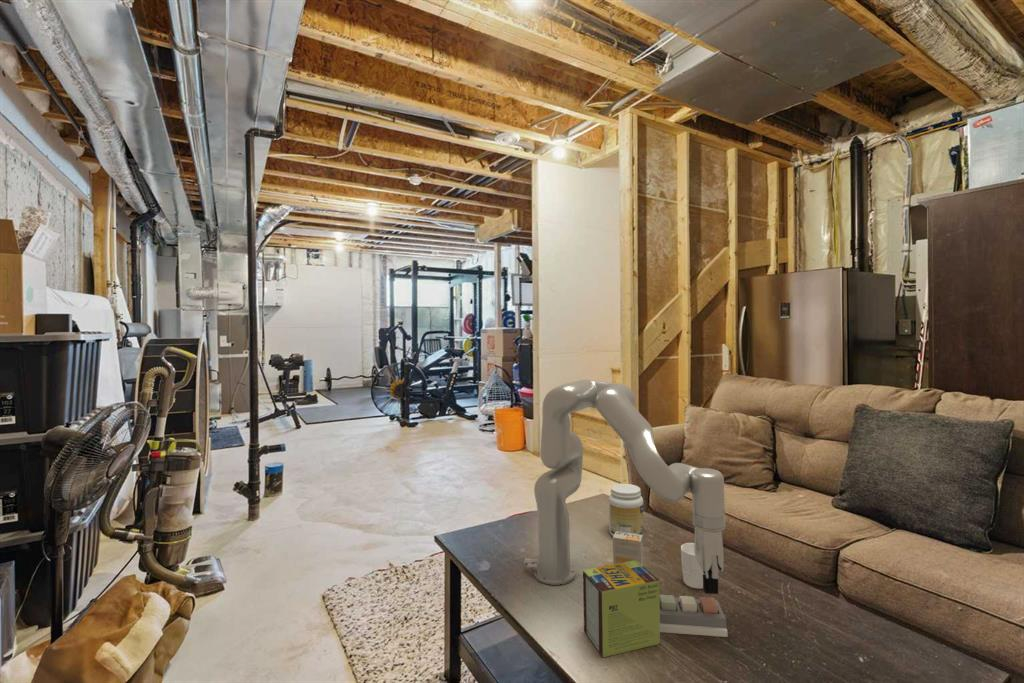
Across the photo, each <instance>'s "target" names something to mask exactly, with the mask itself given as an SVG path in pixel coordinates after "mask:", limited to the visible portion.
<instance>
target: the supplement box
mask: <svg viewBox="0 0 1024 683" xmlns="http://www.w3.org/2000/svg"><path fill="white" fill-rule="evenodd" d="M612 553H613V554H612V556H613V558H612V559H613V563H612V564H618V563H624V562H629V561H633V560H637V561H638V562H639V563H640V564H641V565H643V566H644V534H643V535H639V534H632V533H626V532H619V531H616V532H615V534H614V536H612ZM644 567H645V566H644Z"/></svg>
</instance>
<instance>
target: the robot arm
mask: <svg viewBox="0 0 1024 683" xmlns="http://www.w3.org/2000/svg"><path fill="white" fill-rule="evenodd" d="M635 404H636V396H635V393H634V391H633V390H632V389H631V387H629V386H627V385H625V384H622V383H615V382H607V381H600V380H591V379H581V380H577V381H572V382H568V383H564V384H561V385H558V386H556V387H554V388H552V389H551V390H549V391H548V392H547V394H546V395H545V396H544V399H543V402H542V420H541V421H542V422H541V435H540V437H541V438H540V460H541V462H542V465H544V466H545V467H546V468H548V469H550V470H547V471H546V472H543V474H541V475H540V476H539V477H538V478H537V480H536V481H535V484H534V488H533V492H534V497H535V498H534V499H535V502H536V510H537V528H538V529H537V533H538V534H537V535H538V536H537V537H538V541H537V542H538V554H537V555H538V556H537V557H534V558H531V557H528V558H527V557H526V558H524V566H527V569H534V570H533V575H534V578H535V577H536V578H537V579H538V580H537V579H536V578H535V579H536V580H537V581H539V582H540V583H542V582H543V584H545V583H546V585H549V584H550V586H553V585H554V586H561V585H560V584H562V585H566V584H569V583H571V582H572V581H573V580H575V578H576V570H575V567H574V566H572V565H571V546H570V545H571V543H570V540H571V538H570V536H571V535H570V514H569V513H570V512H569V510H568V507H567V502H566V500H567V499H568V498H569V497H570V496H572V495H573V494H575V493H576V492H577V491H578V490H579V488H580V486H581V484H582V476H583V459H584V447H583V442H582V439H581V438H580V437H579V435H578V434H576V433H575V432H573V431H572V430H571V419H570V416H569V415H570V414H572V413H575V412H578V411H582V410H585V409H588V408H591V409H592V408H593V409H596V410H597V411H598V413H599V414H600V416H602V418H603V419H604V420H605V421H606V423H607V424H608V425H609V426H610V427H611V429H613V430H612V431H614V432H615V433H616V435H617V436H618V437H619V438H620V440H622V442H623V443H624V444H625V446H626V447H627V449H628V452H629V455H630V458H631V460H632V463H633V464H634V467H635V468H636V471H637V472H638V475H640V477H641V478H642V479H643V481H644V482H645V483H646V485H647V486H648V487H649V488H650V489H651V491H653V493H654V494H655V495H656V496H657V497H658V498H660V500H663V501H665V502H668V503H676V502H679V501H681V500H682V499H684V497H685V496H686V495H687V494H691V508H692V509H691V510H692V511H691V512H692V526H693V527H694V542H693V543H694V553H695V556H696V559H697V561H698V563H699V565H700V567H701V569H702V570H703V591H704V593H705V594H710V595H711V594H712V595H719V572H723V571H724V566H725V565H724V562H725V561H724V558H725V557H724V544H723V543H724V542H723V532H722V531H724V530H725V529H726V508H725V506H726V504H725V502H726V501H725V477H724V474H723V473H722V472H721V471H720V470H717V469H714V468H708V467H704V468H703V467H697V466H694V465H689V464H687V463H682V462H674V463H671V464H670V465H668V464H666V461H664V460H663V458H662V457H661V455H660V453H659V452H658V449H657V447H656V445H655V441H654V430H653V427H652V425H651V424H650V423H649V421H648V420H647V419H646V418H645V417H644V416H643V415H642V414H641V413H640V411H639V410H638V409H637V408H636V407H635Z"/></svg>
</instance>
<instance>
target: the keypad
mask: <svg viewBox="0 0 1024 683" xmlns="http://www.w3.org/2000/svg"><path fill="white" fill-rule="evenodd" d="M674 599H675V602H676V611H666V610H661V606H660V633H664V634H665V633H667V634H681V635H692V636H693V635H694V636H695V635H696V636H707V637H708V636H709V637H721V638H728V631H729V630H728V629H727V617H726V616H725V613H724V612H723V610H722V607H721V605H720V604H719V601H718V600H717V599H715V601H716V603H717V605H718V614H712V613H703V612H702V609H701V607H700V598H694V599H695V601H696V604H697V612H682V610H681V607H680V597H674ZM659 602H660V596H659Z"/></svg>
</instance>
